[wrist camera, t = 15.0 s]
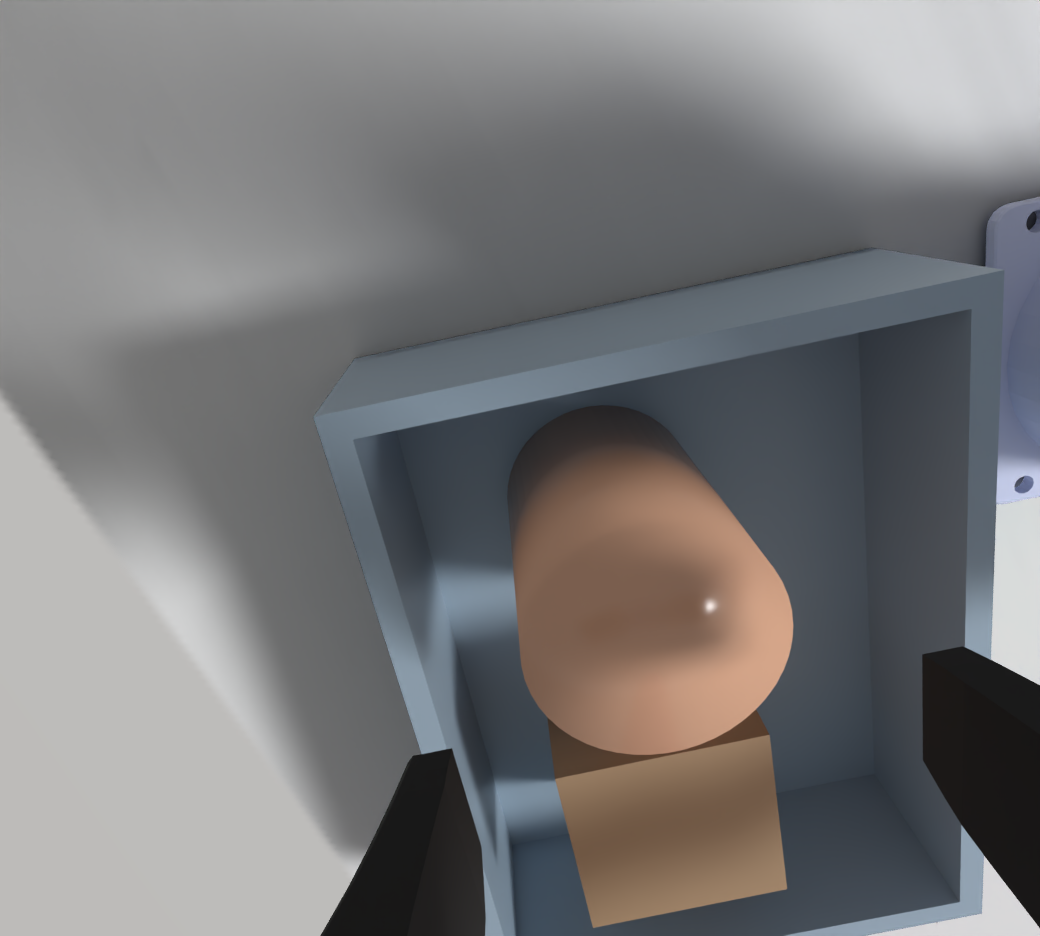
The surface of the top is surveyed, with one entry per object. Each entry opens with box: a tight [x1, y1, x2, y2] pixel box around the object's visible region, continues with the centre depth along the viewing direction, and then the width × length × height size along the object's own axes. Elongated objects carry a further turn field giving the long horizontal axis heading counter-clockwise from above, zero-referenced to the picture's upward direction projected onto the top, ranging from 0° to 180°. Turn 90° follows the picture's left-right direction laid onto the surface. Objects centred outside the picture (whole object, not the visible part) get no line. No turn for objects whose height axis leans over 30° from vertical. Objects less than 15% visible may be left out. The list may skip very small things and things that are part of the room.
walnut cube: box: [547, 710, 787, 928], centre depth 20 cm, size 5×5×5 cm
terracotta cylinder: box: [507, 405, 793, 755], centre depth 17 cm, size 5×5×7 cm
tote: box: [313, 248, 1004, 936], centre depth 19 cm, size 13×17×5 cm
